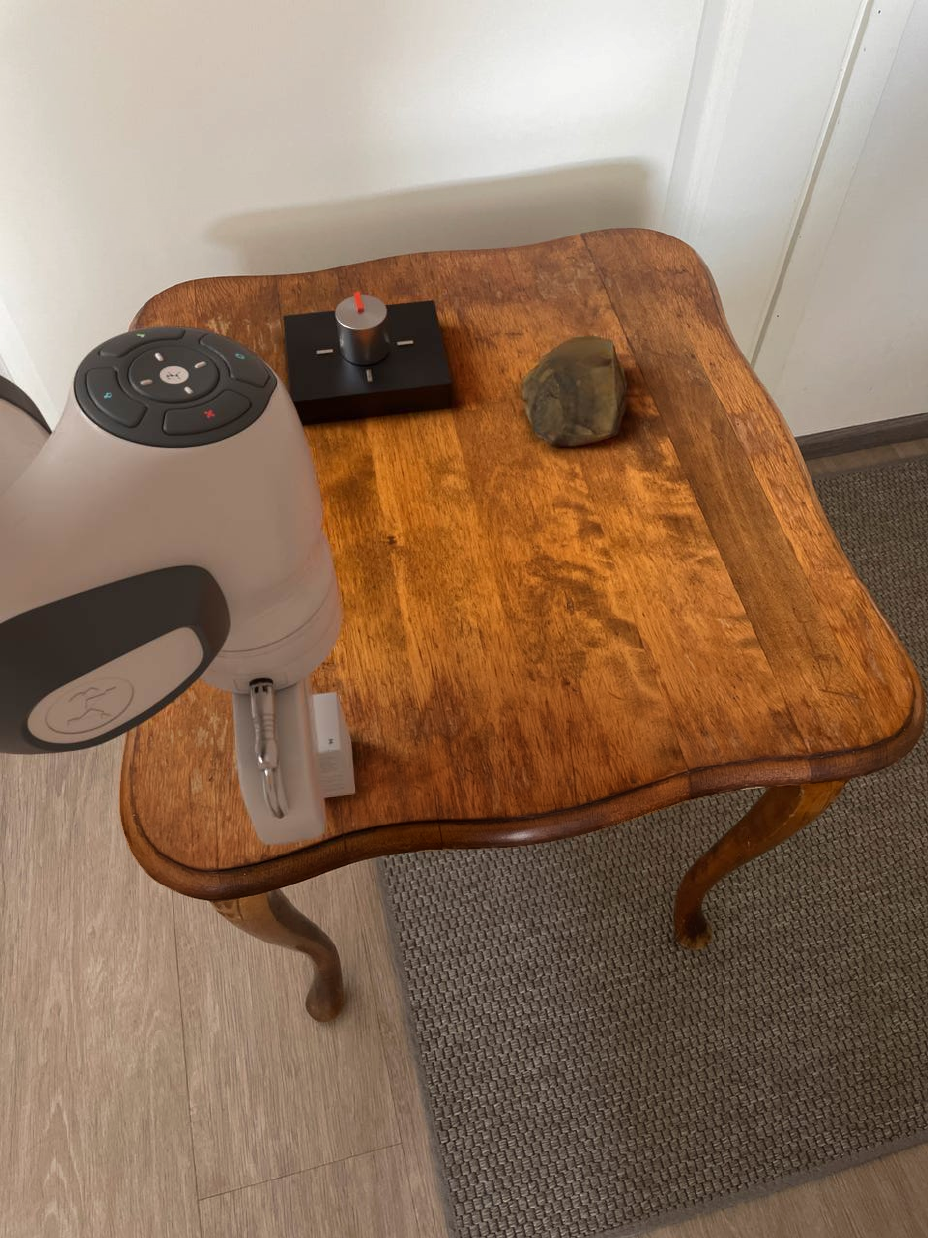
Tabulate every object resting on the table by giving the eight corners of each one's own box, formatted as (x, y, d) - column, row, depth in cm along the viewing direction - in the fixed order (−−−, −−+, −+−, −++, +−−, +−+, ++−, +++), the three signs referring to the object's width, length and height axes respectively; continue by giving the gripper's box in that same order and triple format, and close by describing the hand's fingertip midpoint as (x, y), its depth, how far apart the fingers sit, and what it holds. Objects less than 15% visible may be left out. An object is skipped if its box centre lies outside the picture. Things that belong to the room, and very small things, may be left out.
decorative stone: (638, 446, 79) (646, 417, 76) (532, 454, 78) (535, 425, 75) (615, 361, 84) (621, 331, 81) (515, 368, 84) (517, 338, 81)
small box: (351, 740, 64) (339, 689, 58) (356, 796, 62) (343, 750, 55) (266, 750, 64) (243, 700, 57) (268, 807, 62) (244, 762, 55)
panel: (295, 426, 80) (290, 400, 77) (288, 340, 86) (282, 313, 83) (452, 407, 81) (452, 381, 78) (434, 325, 87) (433, 298, 84)
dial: (393, 361, 80) (390, 322, 76) (344, 368, 79) (339, 329, 76) (385, 327, 82) (381, 288, 78) (337, 334, 82) (331, 295, 78)
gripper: (337, 783, 42) (362, 866, 53) (297, 448, 52) (325, 580, 64) (198, 807, 41) (254, 886, 53) (185, 462, 51) (235, 593, 63)
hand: (293, 716), depth 58 cm, fingers open, 8 cm apart
